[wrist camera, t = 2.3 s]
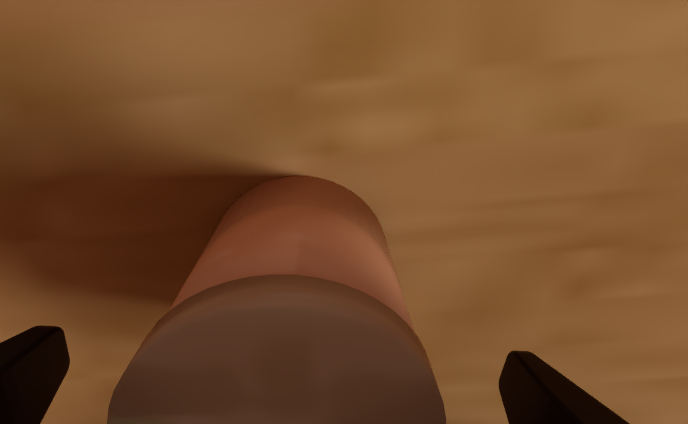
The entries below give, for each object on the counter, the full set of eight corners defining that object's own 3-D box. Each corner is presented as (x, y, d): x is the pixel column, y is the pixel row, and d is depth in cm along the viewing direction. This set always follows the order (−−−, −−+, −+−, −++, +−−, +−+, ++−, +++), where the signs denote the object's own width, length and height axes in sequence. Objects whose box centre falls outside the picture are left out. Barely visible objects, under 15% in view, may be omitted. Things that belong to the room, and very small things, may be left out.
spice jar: (376, 331, 13) (413, 540, 7) (213, 322, 12) (127, 538, 7) (403, 181, 11) (481, 319, 5) (208, 163, 10) (81, 295, 5)
